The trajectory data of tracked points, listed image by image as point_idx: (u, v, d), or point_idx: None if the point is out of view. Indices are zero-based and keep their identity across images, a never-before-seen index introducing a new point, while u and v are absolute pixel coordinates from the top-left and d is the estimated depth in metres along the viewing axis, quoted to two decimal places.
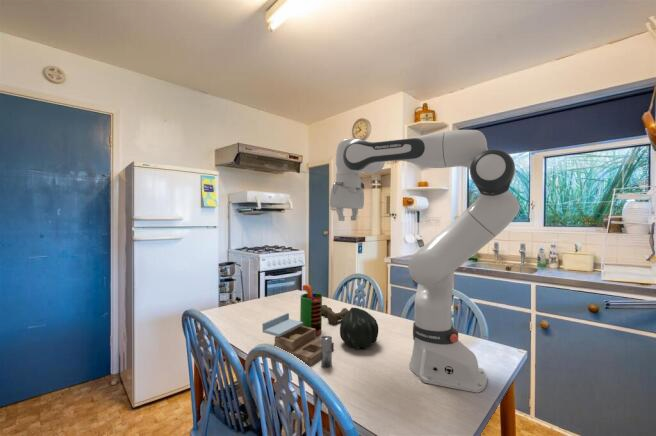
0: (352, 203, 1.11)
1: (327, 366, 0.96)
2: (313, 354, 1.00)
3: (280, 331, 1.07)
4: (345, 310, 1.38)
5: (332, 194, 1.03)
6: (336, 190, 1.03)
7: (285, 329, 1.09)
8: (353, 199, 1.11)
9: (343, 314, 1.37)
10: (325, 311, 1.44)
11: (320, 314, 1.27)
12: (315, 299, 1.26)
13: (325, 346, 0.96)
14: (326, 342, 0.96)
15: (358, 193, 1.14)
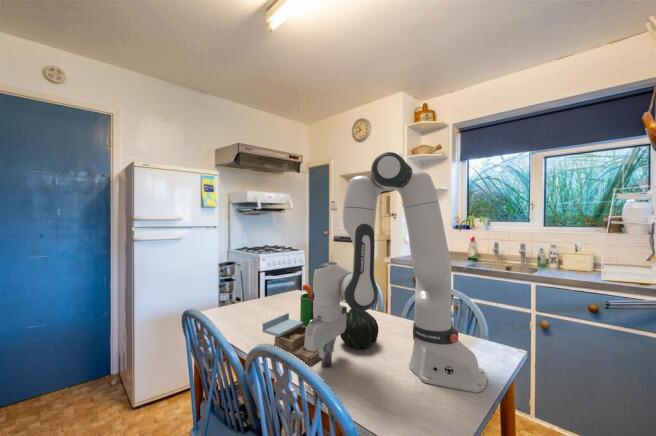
0: (332, 335, 0.97)
1: (327, 366, 0.96)
2: (313, 354, 1.00)
3: (280, 331, 1.07)
4: None
5: (307, 335, 0.90)
6: (311, 332, 0.89)
7: (285, 329, 1.09)
8: (333, 329, 0.98)
9: None
10: None
11: None
12: None
13: (325, 346, 0.96)
14: None
15: (339, 319, 1.01)
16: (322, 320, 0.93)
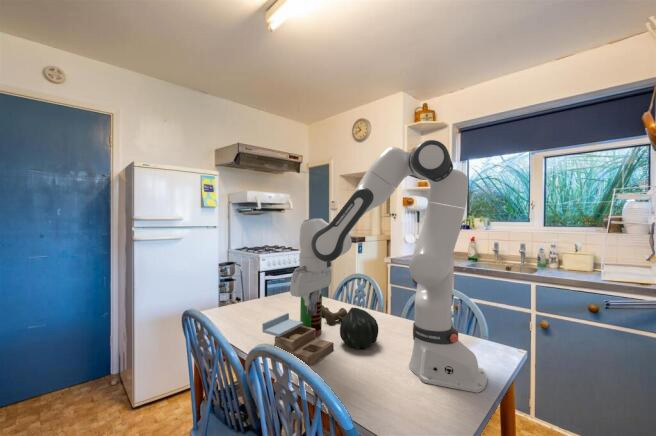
0: (317, 286, 1.04)
1: (312, 314, 1.03)
2: (313, 354, 1.00)
3: (280, 331, 1.07)
4: (343, 310, 1.39)
5: (292, 282, 0.97)
6: (296, 278, 0.96)
7: (285, 329, 1.09)
8: (318, 280, 1.04)
9: (341, 314, 1.37)
10: (322, 311, 1.43)
11: (320, 314, 1.27)
12: None
13: (310, 295, 1.03)
14: None
15: (324, 272, 1.08)
16: (307, 270, 1.00)
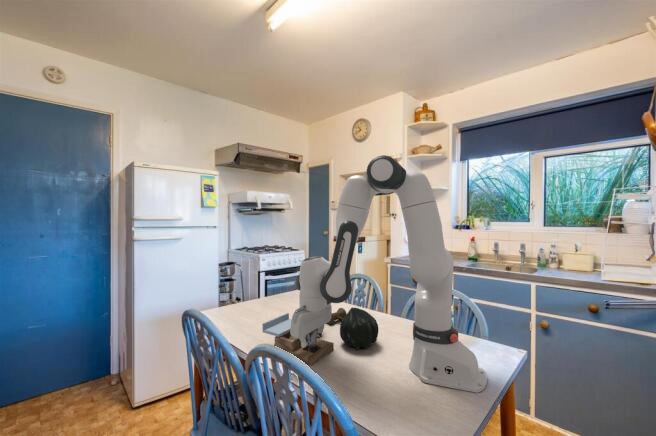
0: (317, 324, 1.04)
1: None
2: (313, 354, 1.00)
3: (280, 331, 1.07)
4: (342, 310, 1.39)
5: (292, 323, 0.97)
6: (296, 320, 0.96)
7: (285, 329, 1.09)
8: (318, 319, 1.04)
9: (340, 314, 1.38)
10: None
11: None
12: None
13: (310, 337, 1.03)
14: (311, 334, 1.03)
15: (324, 309, 1.08)
16: (307, 309, 1.00)
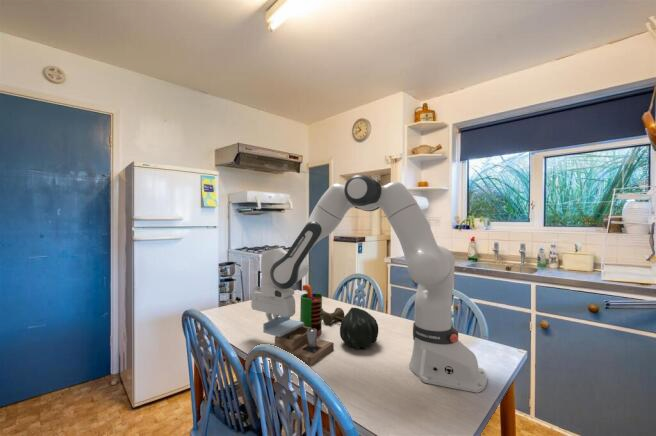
0: (270, 309, 1.14)
1: None
2: (313, 354, 1.00)
3: (281, 331, 1.07)
4: (339, 310, 1.39)
5: None
6: None
7: (286, 329, 1.09)
8: (271, 305, 1.14)
9: (338, 314, 1.38)
10: None
11: (320, 314, 1.27)
12: (315, 299, 1.26)
13: (310, 337, 1.03)
14: (311, 334, 1.03)
15: (278, 300, 1.11)
16: None
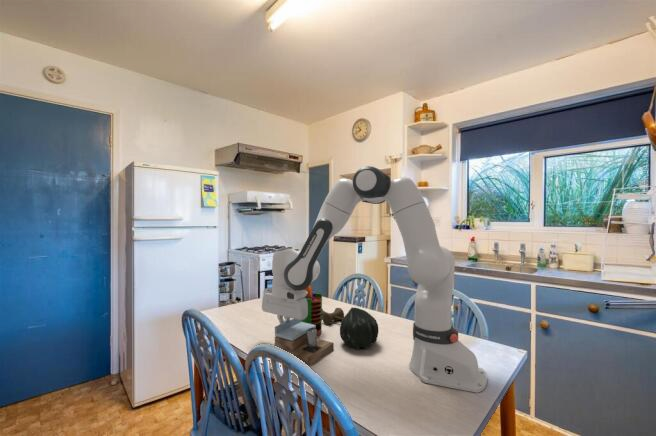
0: (282, 312, 1.11)
1: None
2: (313, 354, 1.00)
3: (293, 335, 1.04)
4: (339, 310, 1.39)
5: None
6: None
7: (298, 332, 1.06)
8: (283, 307, 1.11)
9: (337, 314, 1.38)
10: None
11: (320, 314, 1.27)
12: (315, 299, 1.26)
13: (310, 337, 1.03)
14: (311, 334, 1.03)
15: (291, 302, 1.08)
16: None
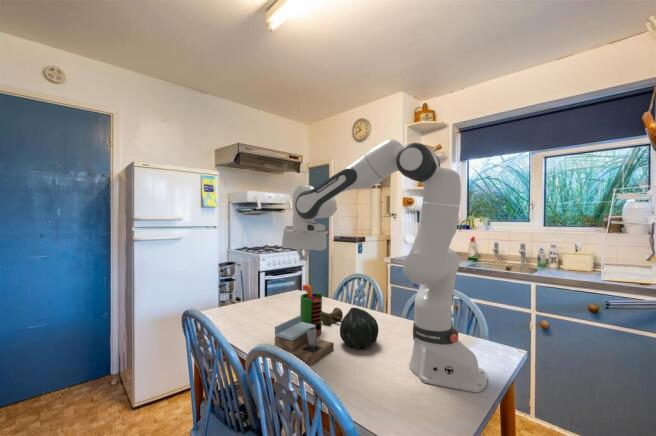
0: (302, 245, 1.18)
1: None
2: (313, 354, 1.00)
3: (293, 335, 1.04)
4: (337, 309, 1.39)
5: None
6: None
7: (298, 332, 1.06)
8: (303, 240, 1.18)
9: (336, 314, 1.38)
10: None
11: (320, 314, 1.27)
12: (315, 299, 1.26)
13: (310, 337, 1.03)
14: (311, 334, 1.03)
15: (311, 235, 1.16)
16: None
